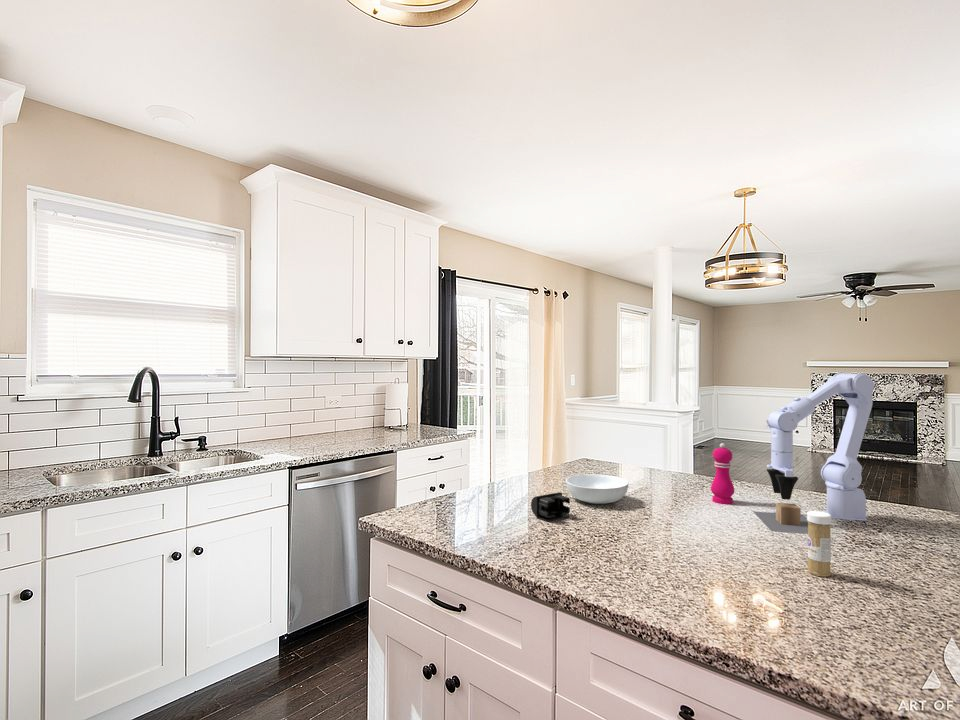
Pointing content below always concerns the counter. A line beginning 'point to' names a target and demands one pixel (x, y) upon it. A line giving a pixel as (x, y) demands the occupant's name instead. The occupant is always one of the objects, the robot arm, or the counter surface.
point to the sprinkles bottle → (819, 543)
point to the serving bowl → (597, 488)
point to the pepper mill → (722, 476)
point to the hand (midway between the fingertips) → (781, 496)
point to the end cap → (550, 507)
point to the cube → (788, 514)
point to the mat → (774, 525)
